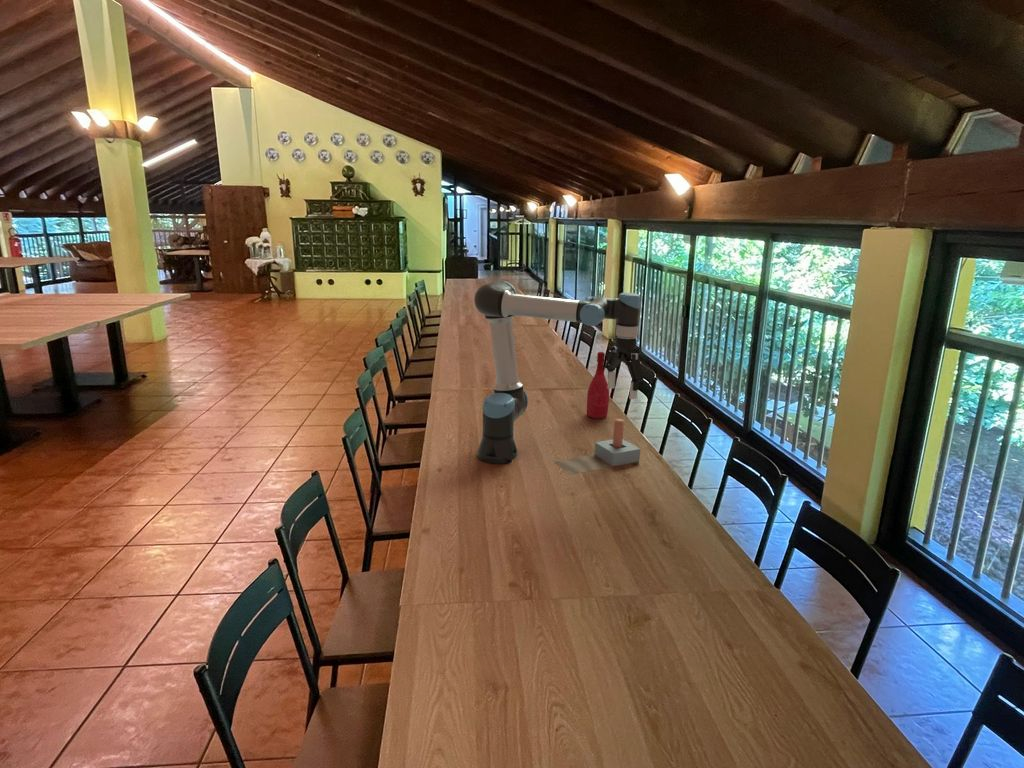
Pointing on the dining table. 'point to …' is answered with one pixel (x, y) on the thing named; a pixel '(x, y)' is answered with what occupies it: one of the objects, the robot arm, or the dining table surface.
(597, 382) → the wine bottle
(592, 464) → the board
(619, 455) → the socket
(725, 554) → the dining table surface
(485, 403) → the robot arm
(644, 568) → the dining table surface
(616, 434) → the peg
